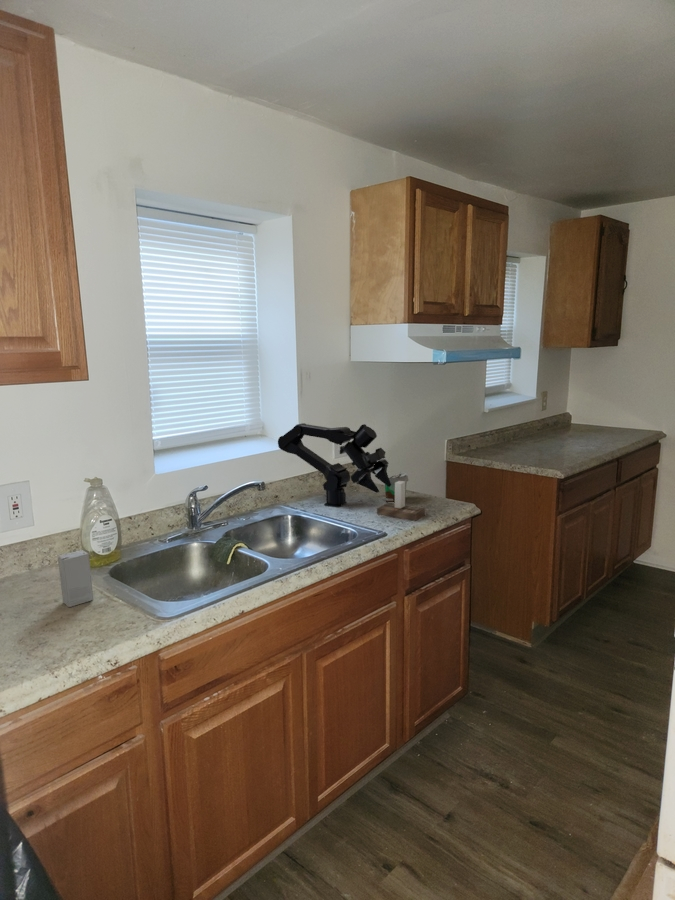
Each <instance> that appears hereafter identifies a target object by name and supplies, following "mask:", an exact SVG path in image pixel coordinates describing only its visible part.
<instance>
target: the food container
mask: <svg viewBox="0 0 675 900" xmlns="http://www.w3.org/2000/svg"><path fill="white" fill-rule="evenodd" d="M389 480H390V483H391V486H390V487H388V486H387V485H386V484H384V491H385V492H384V494H385V503H388V502H395V482H398V481H405V495H406V492H407V482H409V477H408V474H407V473H406V472H401V471H400V472H399V474H397V475H392V476H390V477H389Z"/></svg>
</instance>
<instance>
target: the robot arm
mask: <svg viewBox="0 0 675 900" xmlns="http://www.w3.org/2000/svg"><path fill="white" fill-rule="evenodd" d="M304 436H306V437H307V436H309V437H314V438H319V439H320V438H321V439H325V440H327V441H329V442H331V443H333V444H335V445H342V444H345V443H346V444H345V445H342V446H340V447H339V455H342V454H346V456H348V458H349V459H350V460H351V462H352V463H351V465H352V466H353V467H354V466H356V468H357V469H356V470H355V472H353V473H352V474H351V472H350V471H349V470H347V467H345V466H343V465H342V464H341V463H339V462H337V463H334V464H331V463H329V461H327V460H326V459H324V458H323V457H321V456H320V455H318V454H317V453H315V452H314V451H312V450H311V449H309V448H308V447H307V446H305V445H304V443H303V441H302V440H303V438H304ZM377 437H378V436H377V433H376V431H375V430H374V429H373V428H371V427H369V426H367V424H365V423H364V424H361V425H360V426H359V428H358V429H357V430H356V431H354V430H351V428H350V427H347V426H340V427H326V426H319V425H314V424H309V423H308V424H307V423H303V422H302V423H299V424H298V423H297V424H295V426H293V428H291V429H290V430H288V431H287V432H285V433H284V435H281V436H279V437H278V440H277V446H278V448H279V449H280V450H281V451H283V452H285V453H287V454H292V455H295V456H297V457H299V458H300V459H302V460H303V461H304V462H306V464H308V465H310V466H311V467H313V468H314V469H315V470H317V471H318V472H320V473H321V474H322V475H323V477H324V478H325V480H326V481H325V482H323V484H322V487H323V489H324V491H325V492H326V493H325V494H326V496H325V499H326V501H325V503H324V506H328V507H329V506H330V507H336V508H339V507H342V506H344V505H345V504H347V501H346V500H347V499H346V498H347V497H346V496H347V495H346V492H345V488H346V487H347V485H348V483H349V482H350V481H351V482H352V483H353V484H357V485H360V486H362V487H365V488H367V489H369V490H371V491H373V492H374V493H376V494H377V493H379V492H380V490H379V488H378V486H377V485H376V483H375V482H374V480H373V479H372V475H371V474H373V475H374V477H375V478H377V479H378V480H379V481H380V482H381V483H383V484H384V485H385V484H386V485H387V486H388V487H390V486H391V483H390V480H389V478H390V477H389V475H388V472H387V471H388V468H389V461H388V460H387V459H386V456H385V455H386V451H385V450H384V449H383V448H382V447H378V448H376V449H375V451H374V452H373V453H370V452H369V451H365V450H364V449H365V448H368V446H370V444H371V443H373V441H374V440H375V439H377ZM363 448H364V449H363Z"/></svg>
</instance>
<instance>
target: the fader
mask: <svg viewBox="0 0 675 900" xmlns="http://www.w3.org/2000/svg"><path fill="white" fill-rule="evenodd" d="M394 504H395V508H403V507H404V506H405V505H406V494H405V481H398V482H395V503H394Z"/></svg>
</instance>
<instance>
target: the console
mask: <svg viewBox="0 0 675 900" xmlns="http://www.w3.org/2000/svg"><path fill="white" fill-rule="evenodd" d="M382 515H383V517H389V518H395V519H402V520H408V521H414V522H416V521H418V520H419V519H421V518H423V517H424V516H426V508H425V507H418V506H413V505H412V506H411V505H406V504H405V506H404V507H403V508H395V503H388V502H385V503H384V504H382V505H380V506H378V507H377V508H376V516H382Z"/></svg>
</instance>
